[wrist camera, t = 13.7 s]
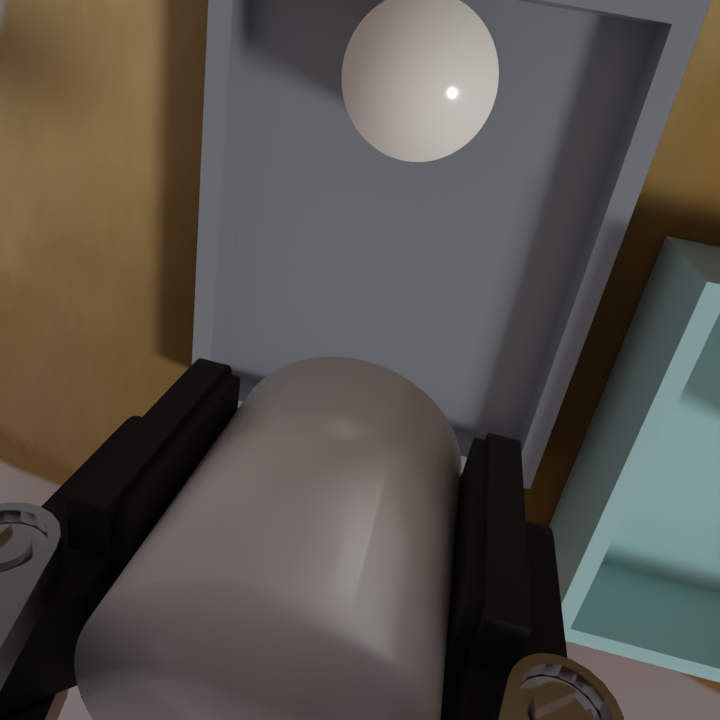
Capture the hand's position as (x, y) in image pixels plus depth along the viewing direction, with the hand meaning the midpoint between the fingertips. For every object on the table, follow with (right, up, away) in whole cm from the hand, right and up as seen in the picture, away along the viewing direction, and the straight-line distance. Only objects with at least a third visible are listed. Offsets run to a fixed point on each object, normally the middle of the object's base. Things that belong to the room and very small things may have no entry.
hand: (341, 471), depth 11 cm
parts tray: (+2, +7, +13) cm, 15 cm away
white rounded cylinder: (0, 0, 0) cm, 0 cm away
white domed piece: (+3, +12, +10) cm, 16 cm away
